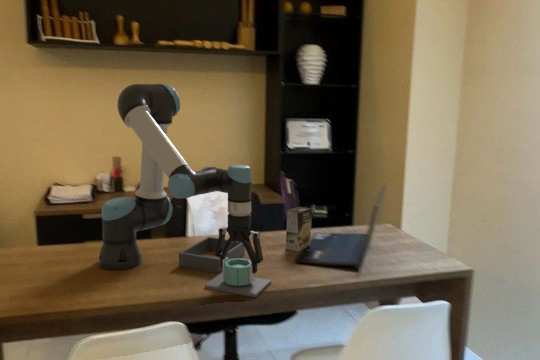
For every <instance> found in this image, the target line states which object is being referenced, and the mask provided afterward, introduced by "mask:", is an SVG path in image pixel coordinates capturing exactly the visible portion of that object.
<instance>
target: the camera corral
mask: <svg viewBox="0 0 540 360" xmlns="http://www.w3.org/2000/svg"><path fill="white" fill-rule="evenodd" d="M218 238H219V237H214V236H213V237H212V236H207V237H205V238H203V239H202V240H200V241H198V242H196V243H194V244H193V245H191V246H189V247H187V248H186V249H185V248H184V250H182V251H180V252H179V253H178V267H180V268H182V267H183V268H187V269H193V270H198V271H203V272H210V273H214V274H215V273H216V274H219V273H220V274H221V273H222V272H223V268H221V267H220V258H219V257H212V256H205V255H203V254H205V253H207V252H208V251H214V252H215V251H216V247H217V243H218ZM227 241H228V238H225V240H224V244H223V248H222V251H223V249H224V247H225V245H226V244H227ZM245 255H246V248H245V246H244V245H243V243H242V242H238V241H236V242H235V241H234V242H233V244H232V246H231V248H230V250H229V252H228V253H227V255H226V257H228V259H236V258H242V257H244V256H245Z"/></svg>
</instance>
